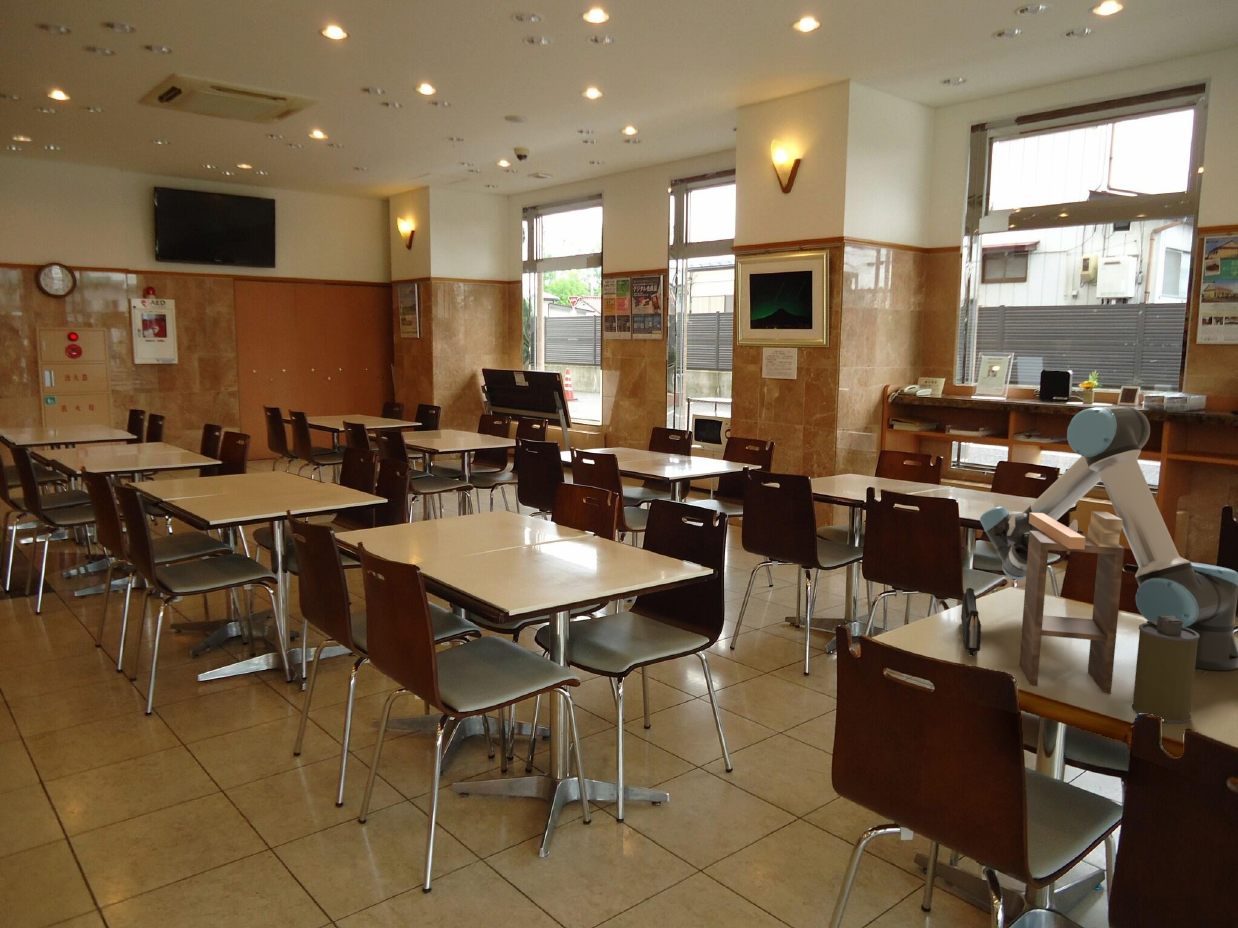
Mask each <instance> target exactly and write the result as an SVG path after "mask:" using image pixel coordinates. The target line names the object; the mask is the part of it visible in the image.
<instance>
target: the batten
mask: <svg viewBox="0 0 1238 928" xmlns="http://www.w3.org/2000/svg"><path fill="white" fill-rule="evenodd" d="M1029 523H1030V524H1031V525H1033V526H1034V527H1036V528H1038V529H1039V530H1041V531H1042V532H1044V533H1045V534H1047V535H1048V536H1050V537H1052V538H1053V539H1055V540H1056V541H1058V542H1059V543H1061V544H1062V545H1064V546H1066V547H1067V548H1069V549H1085V537H1084V536H1082V535H1080V534H1078V533H1077V532H1075V531H1073V530H1071V529H1070V528H1068V527H1069V526H1066V525H1065V524H1063V523H1061V522H1059V521H1058V520H1057V521H1056V520H1054V519H1052V518H1051V517H1049V516H1047V515H1045V514H1044V513H1029Z"/></svg>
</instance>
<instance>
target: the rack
mask: <svg viewBox="0 0 1238 928" xmlns="http://www.w3.org/2000/svg"><path fill="white" fill-rule="evenodd" d="M1122 530H1123V528H1122V519H1120V518H1118V517H1117V515H1114V514H1112V513H1111V512H1109V511H1096V510H1095V511H1093V510H1092V511H1091V512H1090V523H1088V527H1087V533H1083V534H1080V535H1082V536H1084V537H1085V549H1069V548H1067V547H1066V546H1064V545H1062V544H1061V543H1059V542H1058V541H1056V540H1055V539H1053V538H1052V537H1050V536H1048V535H1047V534H1045V533H1044V532H1042V531H1029V544H1028V557H1027V570H1026V578H1025V583H1024V584H1025V585H1024V586H1025V587H1024V599H1023V610H1022V611H1023V612H1022V613H1023V614H1022V622H1021V623H1022V624H1021V637H1020V651H1019V652H1020V653H1019V664H1018V665H1019V667H1020V670H1021V672H1022V674H1023V675H1024V677H1025V680H1026V681H1027V683H1028V685H1029V687H1038V685H1039V683H1038V682H1039V672H1040V671H1039V670H1040V659H1041V657H1040V656H1041V647H1042V646H1041V645H1042V636H1044V637H1055V638H1065V639H1066V638H1067V639H1078V640H1089V642H1090V643H1089V651H1088V652H1089V653H1088V654H1089V655H1088V664H1087V673H1088V674H1089V676H1090V677H1091V678H1092V680H1093V681H1094V683H1095V684H1096V686H1097V687H1098V689H1099V690H1100V691H1101V692H1102V693H1103V694H1107V695H1108V694H1109V695H1111V694H1112V685H1113V676H1114V675H1113V673H1114V665H1115V652H1116V651H1115V650H1116V643H1117V630H1118V622H1119V621H1118V619H1119V610H1120V609H1119V608H1120V598H1121V597H1120V596H1121V588H1122V578H1123V565H1124V555H1125V553H1124V552H1125V546H1122V545H1121V544H1120V536H1121V534H1122ZM1056 550H1058V551H1057V552H1062V551H1063V552H1075V553H1076V552H1078V553H1089V554H1090V553H1091V554H1097V559H1096V560H1097V561H1096V573H1095V574H1096V575H1095V585H1094V595H1093V608H1092V617H1091V619H1090V618H1081V617H1069V616H1057V615H1056V616H1055V615H1045V614H1044V610H1045V609H1044V608H1045V597H1046V583H1047V582H1046V581H1047V571H1048V570H1047V569H1048V560H1049V551H1056Z"/></svg>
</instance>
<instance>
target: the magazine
mask: <svg viewBox="0 0 1238 928" xmlns="http://www.w3.org/2000/svg"><path fill="white" fill-rule="evenodd" d="M977 609H978V608H977V597H976V594H975V590H974V588H972V587H968V588H965V593H964V594H963V595H962V603H961V615H960V618H961V632H962V633H961V634H962V642H963V646H964V649H965V650H966V651H968V656H969V655H972V656H971V657H974V656H975V653H976V652H980V651H981V638H982V637H981V635H982V632H981V631H982V624H981V620H980V617H979V613H980V612H979V610H977Z"/></svg>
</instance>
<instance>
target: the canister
mask: <svg viewBox="0 0 1238 928" xmlns="http://www.w3.org/2000/svg"><path fill="white" fill-rule="evenodd" d="M1182 625H1183V622H1182V621H1181V620H1179V619H1177V617H1175V616H1158V620H1157V621H1148V620H1147V621H1146V622H1145V623H1141V624H1139V625H1138V629H1139V635H1138V642H1137V643H1138V645H1137V655H1136V665H1135V676H1134V688H1133V695H1132V696H1133V697H1132V703H1131V709H1132V711H1133V712H1134V711H1135V712H1134V713H1136V714H1137V713H1148V714H1153V715H1154V716H1159V717H1162V719H1164V722H1163V723H1166V724H1186V723H1189V722H1190V721H1191V720H1192V716H1191V711H1192V710H1191V709H1192V700H1193V690H1194V682H1195V673H1196V671H1195V670H1196V667H1195V663H1196V654H1197V645H1198V639H1199V637H1200V635H1199V634H1198V633H1197V632H1195V631H1193V630H1191V629H1188V628H1185V627H1182Z"/></svg>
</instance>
